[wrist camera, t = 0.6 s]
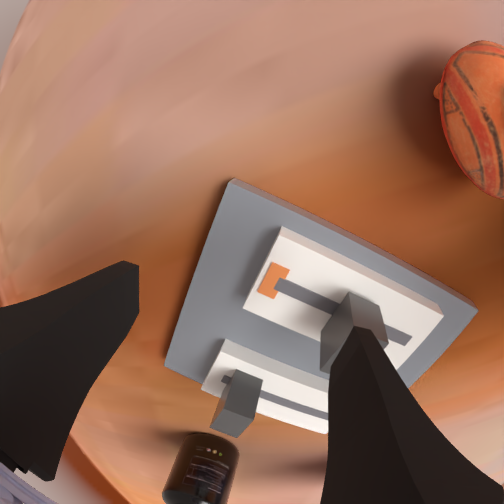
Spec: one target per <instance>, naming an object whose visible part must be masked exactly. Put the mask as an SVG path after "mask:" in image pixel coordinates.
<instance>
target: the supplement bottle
mask: <svg viewBox="0 0 504 504" xmlns="http://www.w3.org/2000/svg"><path fill="white" fill-rule="evenodd" d="M238 460H239V452H238V450H237V448H236V447H235V446H234V445H233V444H232V443H230V442H229V441H227V440H225V439H223V438H220V437H217V436H214V435H210V434H204V433H195V434H190V435H188V436H187V437H185V439H184V440H183V443H182V445H181V447H180V450H179V452H178V455H177V457H176V459H175V462H174V464H173V467H172V469H171V472H170V474H169V477H168V479H167V482H166V484H165V487H164V489H163V492H162V497H163V500H164V502H165V503H166V504H227V502H228V498H229V494H230V491H231V487H232V483H233V480H234V476H235V472H236V468H237V464H238Z"/></svg>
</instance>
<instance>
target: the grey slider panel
mask: <svg viewBox="0 0 504 504" xmlns="http://www.w3.org/2000/svg"><path fill="white" fill-rule="evenodd" d="M348 292H351V293H353V294H355V295H358V296H360V297H362V298H364V299H366V300H368V301H370V302H373V303H375V304H377V305H379V306H380V310H381V314H382V317H383V321H384V325H385V329H386V333H387V337H388V341H389V344H388V345H387V347H386V348H385V349H384V351H385V353H386V354H387V356H388V358H389V359H390V361H391V363H392V364H393V366H394V367H395V369H396V371H397V372H398V374H399V375H400V377H401V379H402V380H403V382H404V383H405V385H406V386H407V388H409V387H410V386H411V385H412V384H413V383H414V382H415V381H416V380H417V379H418V378H419V377H420V376H421V375H422V374H423V373H424V372H425V371H426V370H427V369H428V368H429V367H430V366H431V365H432V364H433V363H434V362H435V361H436V360H437V359H438V358H439V357H440V356H441V355H442V354H443V352H444V351H445V350H446V349H447V348H448V347H449V346H450V345H451V344H452V342H453V341H454V340H455V339H456V338H457V337H458V335H459V334H460V333H461V332H462V331H463V329H464V328H465V327H466V326H467V325H468V323H469V322H470V321H471V320H472V318H473V317H474V316H475V314H476V313H477V312H478V311H479V310H478V309H477V307H476V306H475V304H474V303H473V301H472V300H470V299H468V298H467V297H465V296H463V295H462V294H460V293H458V292H457V291H455V290H453V289H452V288H450V287H448V286H447V285H445V284H443V283H442V282H440V281H438V280H436V279H435V278H433V277H431V276H429V275H428V274H426V273H424V272H422V271H421V270H419V269H417V268H415V267H414V266H412V265H410V264H408V263H406V262H405V261H403V260H401V259H399V258H397V257H396V256H394V255H392V254H390V253H388V252H386V251H384V250H383V249H381V248H379V247H377V246H375V245H373V244H371V243H369V242H367V241H366V240H364V239H362V238H360V237H358V236H356V235H354V234H352V233H350V232H348V231H346V230H344V229H342V228H340V227H338V226H336V225H334V224H332V223H330V222H328V221H326V220H324V219H322V218H320V217H318V216H316V215H314V214H312V213H310V212H308V211H306V210H304V209H302V208H299V207H297V206H295V205H293V204H291V203H289V202H287V201H285V200H282V199H280V198H278V197H276V196H274V195H272V194H269V193H267V192H265V191H263V190H261V189H258V188H256V187H254V186H252V185H250V184H247V183H245V182H243V181H241V180H238V179H236V178H233V179H232V180H231V181H229V182H228V185H227V187H226V190H225V193H224V195H223V198H222V200H221V203H220V205H219V208H218V211H217V213H216V216H215V219H214V221H213V224H212V226H211V229H210V232H209V234H208V237H207V240H206V243H205V245H204V248H203V251H202V254H201V256H200V259H199V262H198V265H197V267H196V270H195V273H194V276H193V279H192V282H191V284H190V287H189V290H188V293H187V296H186V299H185V302H184V305H183V308H182V311H181V314H180V317H179V320H178V323H177V326H176V329H175V332H174V335H173V338H172V341H171V344H170V347H169V350H168V353H167V357H166V360H165V363H164V366H165V367H167V368H169V369H171V370H173V371H175V372H177V373H179V374H181V375H184V376H186V377H188V378H190V379H192V380H194V381H196V382H199V383H201V384H203V385H202V388H201V390H203V391H205V392H207V393H210V394H212V395H214V396H217V397H219V398H220V400H219V403H218V406H217V408H216V411H215V414H214V417H213V419H212V422H211V425H210V428H212V429H214V430H217V431H220V432H222V433H225V434H227V435H230V436H233V437H235V438H237V437H238V436H239V435H240V434H241V433H242V432H243V431H244V430H245V429H246V428H247V427H248V426H249V425H250V423H251V422H252V421H253V420H254V417H255V413H256V412H257V413H260V414H263V415H266V416H268V417H271V418H274V419H277V420H280V421H283V422H286V423H289V424H292V425H296V426H299V427H302V428H305V429H309V430H312V431H316V432H319V433H323V434H326V433H327V432H328V387H329V377H330V374H327V373H324V372H322V371H320V336H321V330H322V329H323V327H324V326H325V325H326V323H327V322H328V320H329V319H330V318H331V316H332V315H333V313H334V312H335V310H336V309H337V308H338V306H339V305H340V303H341V302H342V300H343V299H344V297H345V296H346V295H347V293H348Z"/></svg>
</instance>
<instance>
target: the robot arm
mask: <svg viewBox="0 0 504 504" xmlns="http://www.w3.org/2000/svg"><path fill="white" fill-rule="evenodd" d="M138 314H139V266H138V265H135V264H132V263H129V262H126V261H121V262H118V263H116V264H113V265H111V266H109V267H106V268H104V269H102V270H100V271H97V272H95V273H93V274H91V275H89V276H86V277H84V278H82V279H80V280H78V281H75V282H73V283H71V284H68V285H66V286H64V287H61V288H59V289H56V290H54V291H51V292H49V293H47V294H44V295H41V296H39V297H36V298H33V299H30V300H27V301H24V302H20V303H17V304H14V305H10V306H6V307H1V308H0V504H23V503H24V504H57V503H56V502H54V501H52V500H51V499H49V498H48V497H46V496H45V495H43V494H42V493H40V492H39V491H37V490H36V489H35V488H33V487H32V486H30V485H29V484H28V483H26V482H25V481H23V480H22V479H21V478H20V477H18V476H17V475H16V474H14V471H15V469H16V468H18V469H19V470H21V471H22V472H23V473H25V474H26V473H27V472H28V470H29V471H31V472H32V473H33V474H35V475H36V476H38V477H39V478H41V479H42V480H44V481H52V480H54V478H55V474H56V471H57V467H58V464H59V461H60V457H61V454H62V451H63V448H64V446H65V443H66V440H67V438H68V435H69V432H70V430H71V428H72V425H73V423H74V421H75V419H76V416H77V414H78V412H79V410H80V408H81V406H82V404H83V402H84V400H85V398H86V396H87V394H88V392H89V390H90V388H91V387H92V385H93V383H94V382H95V380H96V379H97V377H98V376H99V374H100V373H101V372H102V370H103V369H104V367H105V366H106V364H107V363H108V362H109V360H110V359H111V357H112V356H113V355H114V353H115V352H116V350H117V349H118V347H119V346H120V345H121V343H122V342H123V340H124V339H125V337H126V336H127V334H128V333H129V331H130V329H131V327H132V325H133V323H134V321H135V319H136V317H137V316H138ZM22 502H23V503H22ZM320 504H504V490H503V487H502V486H501V485H500V484H498V483H497V482H495V481H494V480H493V479H491V478H490V477H488V476H487V475H486V474H484V473H483V472H482V471H480V470H479V469H478V468H477V467H476V466H474V465H473V464H472V463H471V462H470V461H469V460H467V459H466V458H465V457H464V456H463V455H462V454H461V453H460V452H459V451H458V450H457V449H456V448H455V447H454V446H453V445H452V444H451V443H450V442H449V441H448V440H447V438H446V437H445V436H444V435H443V434H442V433H441V432H440V431H439V430H438V428H437V427H436V426H435V425H434V423H433V422H432V421H431V420H430V418H429V417H428V416H427V415H426V413H425V412H424V411H423V409H422V408H421V407H420V405H419V404H418V402H417V401H416V400H415V398H414V397H413V395H412V394H411V392H410V391H409V389H408V388H407V386H406V385H405V383H404V382H403V380H402V379H401V377H400V375H399V374H398V372H397V371H396V369H395V367H394V366H393V364H392V363H391V361H390V359H389V358H388V356H387V354H386V353H385V351H384V349H383V348H382V346H381V345H380V343H379V341H378V340H377V338H376V337H375V335H374V334H373V332H372V331H371V329H366V328H362V327H358V326H354V327H353V328H352V330H351V332H350V334H349V336H348V337H347V339H346V341H345V343H344V345H343V346H342V348H341V350H340V352H339V353H338V355H337V357H336V358H335V360H334V362H333V364H332V365H331V368H330V377H329V387H328V461H327V468H326V475H325V481H324V487H323V492H322V497H321V502H320Z"/></svg>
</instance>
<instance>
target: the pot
mask: <svg viewBox="0 0 504 504" xmlns="http://www.w3.org/2000/svg"><path fill="white" fill-rule="evenodd" d="M433 94H434V97H435V98H437V99H439V100H440V115H441V122H442V127H443V131H444V134H445V137H446V139H447V142H448V145H449V147H450V150H451V152H452V154H453V157H454V158H455V160H456V162H457V164H458V165H459V167H460V168H461V170H462V171H463V172H464V174H465V175H466V176H467V177H468V178H469V179H470V180H471V181H472V182H473V183H474V184H475V185H476V186H477V187H478V188H479V189H480V190H482V191H483V192H485V193H486V194H488V195H490V196H493V197H496V198H500V199H504V46H502V45H499V44H496V43H493V42H489V41H476V42H473V43H471V44H469V45H467V46H465V47H463V48H462V49H460V50H459V51H457V52H456V53H455V54H454V55H452V57H451V58H450V59H449V61H448V63H447V65H446V67H445V69H444V72H443V75H442V79H441V82H440V83H439V84H438V85H437V86H436V87H435V89H434V93H433Z"/></svg>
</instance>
